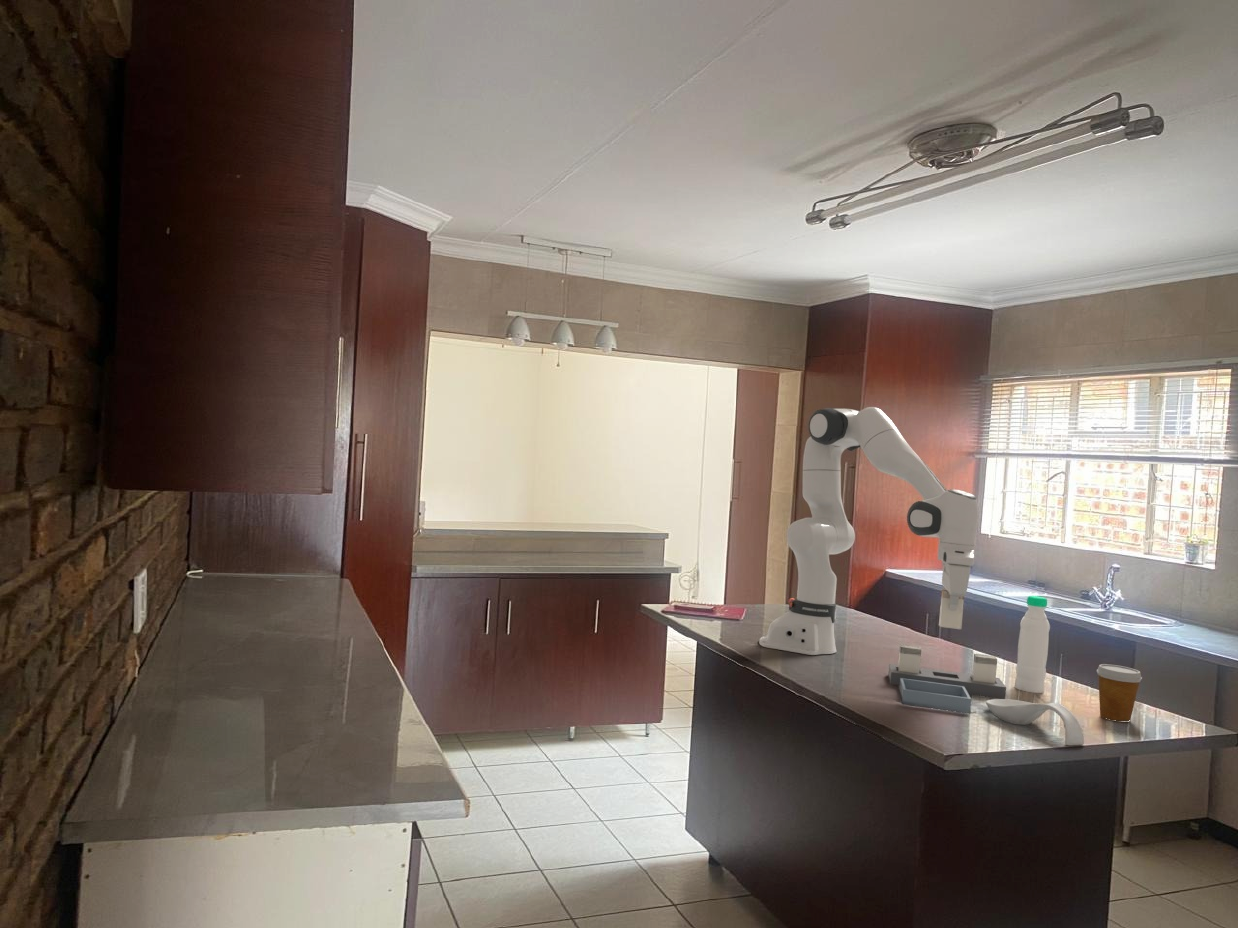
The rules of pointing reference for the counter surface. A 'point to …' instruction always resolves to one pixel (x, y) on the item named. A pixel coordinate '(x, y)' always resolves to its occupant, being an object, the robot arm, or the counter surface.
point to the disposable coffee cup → (1117, 691)
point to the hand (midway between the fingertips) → (951, 608)
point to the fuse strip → (951, 681)
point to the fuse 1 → (909, 658)
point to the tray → (934, 695)
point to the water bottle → (1033, 647)
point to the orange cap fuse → (950, 612)
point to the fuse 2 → (984, 668)
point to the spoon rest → (1036, 716)
